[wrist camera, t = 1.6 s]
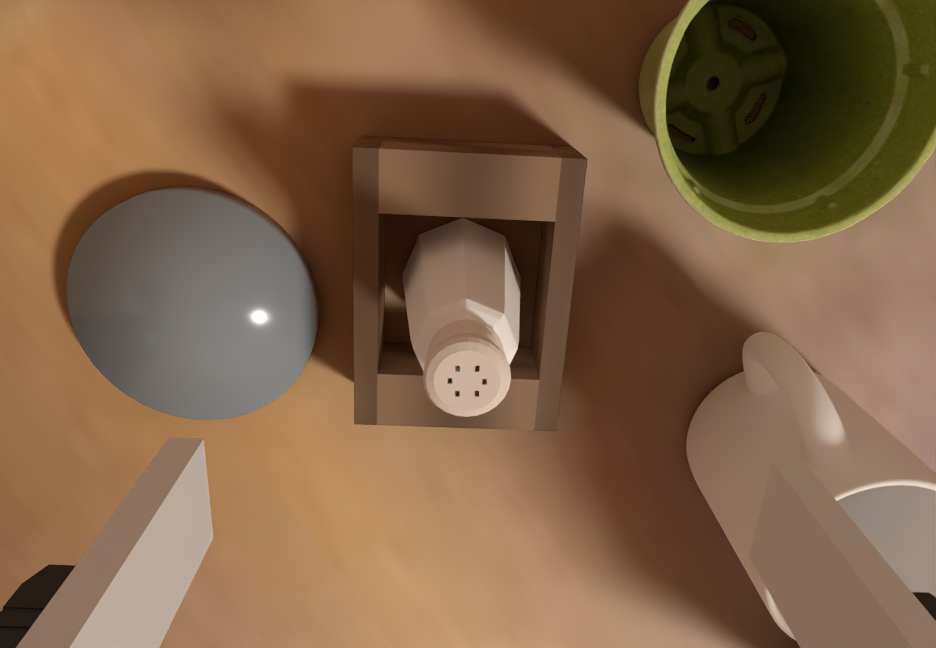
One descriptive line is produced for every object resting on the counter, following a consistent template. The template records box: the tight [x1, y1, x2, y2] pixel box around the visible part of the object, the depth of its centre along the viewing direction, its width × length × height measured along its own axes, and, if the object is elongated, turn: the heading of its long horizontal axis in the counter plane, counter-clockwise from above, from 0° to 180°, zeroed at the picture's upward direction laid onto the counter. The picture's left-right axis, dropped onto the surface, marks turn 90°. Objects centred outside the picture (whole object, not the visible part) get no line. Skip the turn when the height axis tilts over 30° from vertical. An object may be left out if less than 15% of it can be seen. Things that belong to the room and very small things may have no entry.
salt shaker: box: [402, 218, 520, 417], centre depth 27 cm, size 5×5×11 cm
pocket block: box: [352, 136, 587, 431], centre depth 31 cm, size 9×12×4 cm
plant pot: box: [638, 0, 936, 242], centre depth 26 cm, size 9×9×9 cm
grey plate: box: [66, 186, 320, 420], centre depth 32 cm, size 11×11×1 cm
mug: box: [686, 332, 936, 640], centre depth 31 cm, size 12×8×10 cm
